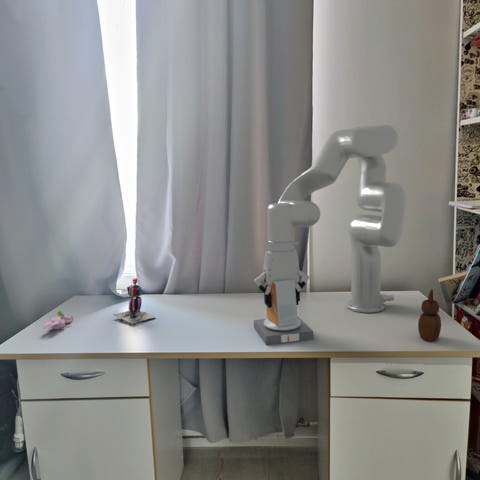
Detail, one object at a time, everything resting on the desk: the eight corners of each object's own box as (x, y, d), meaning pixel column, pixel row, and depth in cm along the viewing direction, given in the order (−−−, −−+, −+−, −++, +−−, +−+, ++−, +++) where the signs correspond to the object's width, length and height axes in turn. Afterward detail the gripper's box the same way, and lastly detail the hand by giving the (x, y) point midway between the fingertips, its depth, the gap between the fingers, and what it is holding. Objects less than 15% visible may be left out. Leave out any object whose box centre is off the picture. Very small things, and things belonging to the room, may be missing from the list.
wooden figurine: (437, 345, 134) (439, 291, 131) (415, 341, 137) (417, 289, 134) (442, 336, 139) (444, 285, 137) (421, 333, 143) (422, 283, 140)
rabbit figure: (60, 324, 164) (36, 334, 149) (59, 306, 164) (36, 314, 149) (78, 324, 163) (56, 334, 148) (77, 306, 163) (55, 314, 148)
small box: (267, 319, 148) (263, 277, 146) (286, 315, 150) (283, 274, 148) (278, 327, 140) (275, 283, 138) (298, 323, 143) (295, 279, 140)
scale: (297, 323, 154) (297, 312, 153) (314, 340, 140) (314, 328, 139) (254, 327, 151) (253, 317, 151) (266, 345, 137) (266, 333, 136)
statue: (155, 322, 163) (156, 279, 159) (131, 329, 156) (132, 285, 153) (136, 311, 170) (136, 270, 167) (112, 318, 164) (112, 275, 160)
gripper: (305, 241, 147) (306, 298, 150) (248, 246, 143) (250, 304, 146) (314, 246, 139) (314, 306, 143) (254, 251, 136) (256, 312, 139)
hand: (282, 304), depth 144 cm, fingers open, 7 cm apart
